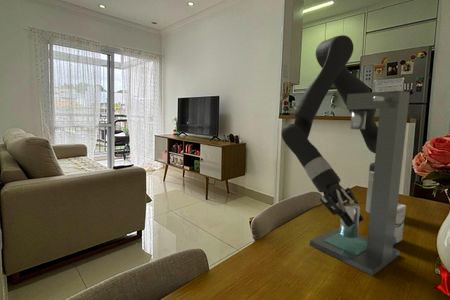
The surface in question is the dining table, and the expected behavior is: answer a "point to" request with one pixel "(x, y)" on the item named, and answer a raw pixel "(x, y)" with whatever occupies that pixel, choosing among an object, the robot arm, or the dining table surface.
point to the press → (375, 184)
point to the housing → (354, 213)
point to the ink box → (399, 223)
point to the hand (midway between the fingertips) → (356, 223)
